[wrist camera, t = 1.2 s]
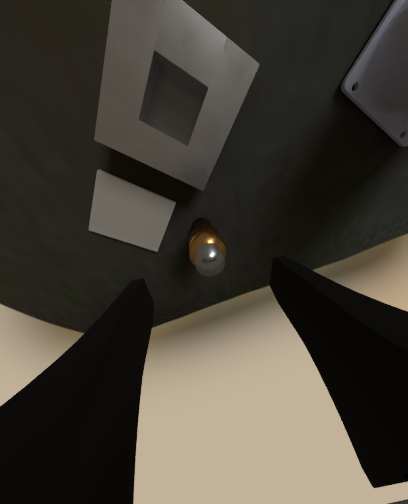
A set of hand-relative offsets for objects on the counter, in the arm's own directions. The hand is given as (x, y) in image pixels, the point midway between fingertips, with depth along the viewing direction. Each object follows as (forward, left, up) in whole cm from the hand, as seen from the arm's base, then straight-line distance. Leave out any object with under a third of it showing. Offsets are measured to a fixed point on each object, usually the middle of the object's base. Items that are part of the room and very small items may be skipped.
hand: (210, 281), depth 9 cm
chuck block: (+5, -7, -10) cm, 13 cm away
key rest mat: (+6, +2, -10) cm, 12 cm away
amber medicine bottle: (-1, +1, -10) cm, 10 cm away
